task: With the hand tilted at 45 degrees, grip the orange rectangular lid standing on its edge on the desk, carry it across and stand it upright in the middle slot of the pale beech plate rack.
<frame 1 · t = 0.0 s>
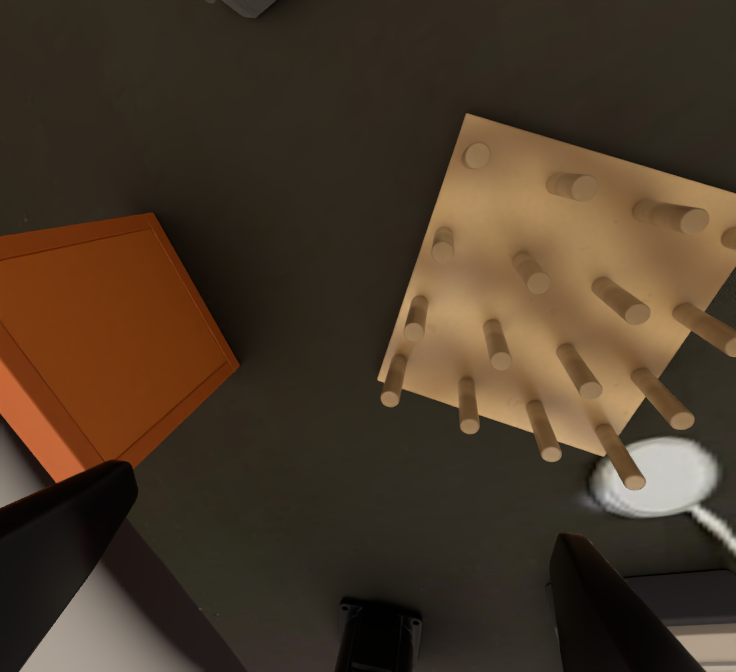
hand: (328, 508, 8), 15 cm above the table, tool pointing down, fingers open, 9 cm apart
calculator: (647, 646, 28), on the table
lid: (188, 298, 24), on the table
rack: (541, 303, 20), on the table
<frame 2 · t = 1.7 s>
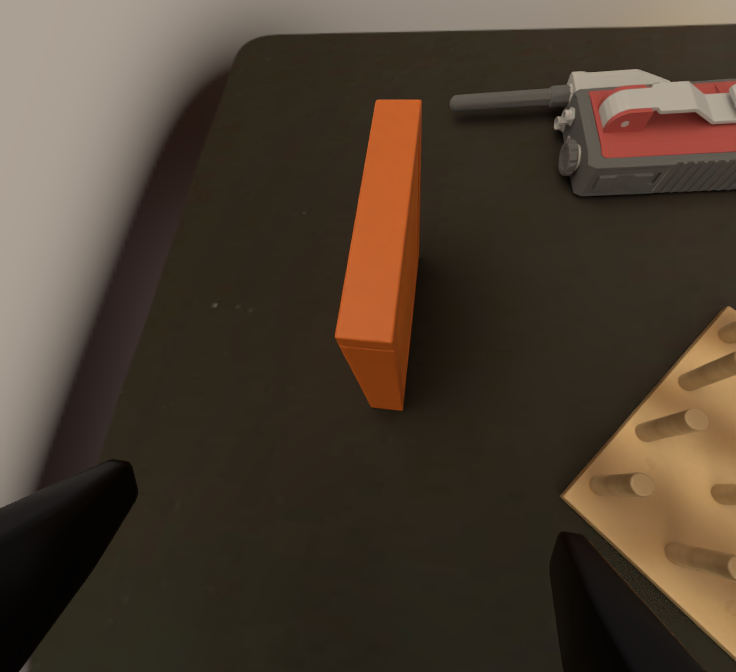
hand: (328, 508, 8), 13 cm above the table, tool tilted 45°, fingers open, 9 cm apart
walkie-talkie: (599, 149, 27), on the table
lid: (396, 326, 24), on the table
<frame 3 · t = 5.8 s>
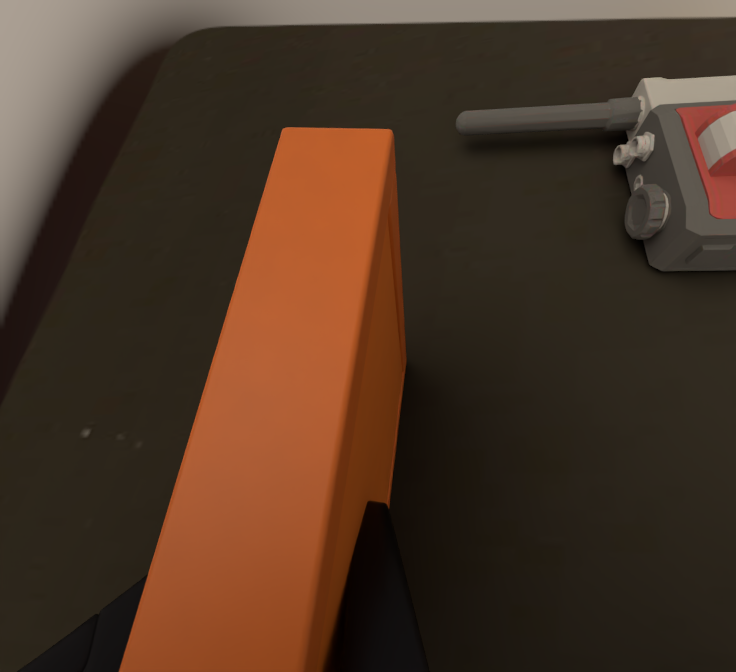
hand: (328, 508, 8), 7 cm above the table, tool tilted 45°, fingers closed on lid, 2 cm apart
walkie-talkie: (682, 194, 18), on the table
lid: (366, 487, 15), on the table, touching gripper
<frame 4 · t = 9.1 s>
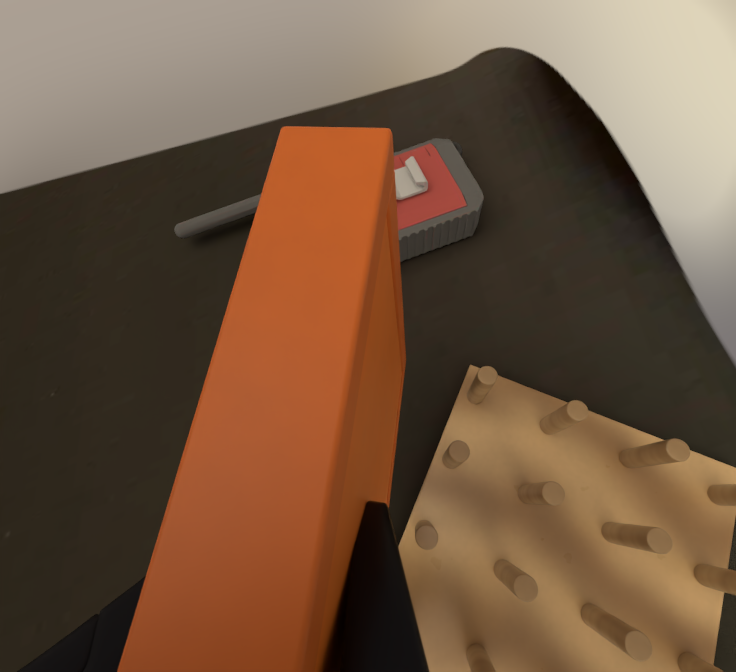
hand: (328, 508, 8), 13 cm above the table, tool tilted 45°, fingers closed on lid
walkie-talkie: (334, 233, 28), on the table
lid: (366, 486, 15), point 7 cm above the table, touching gripper
rack: (553, 549, 19), on the table
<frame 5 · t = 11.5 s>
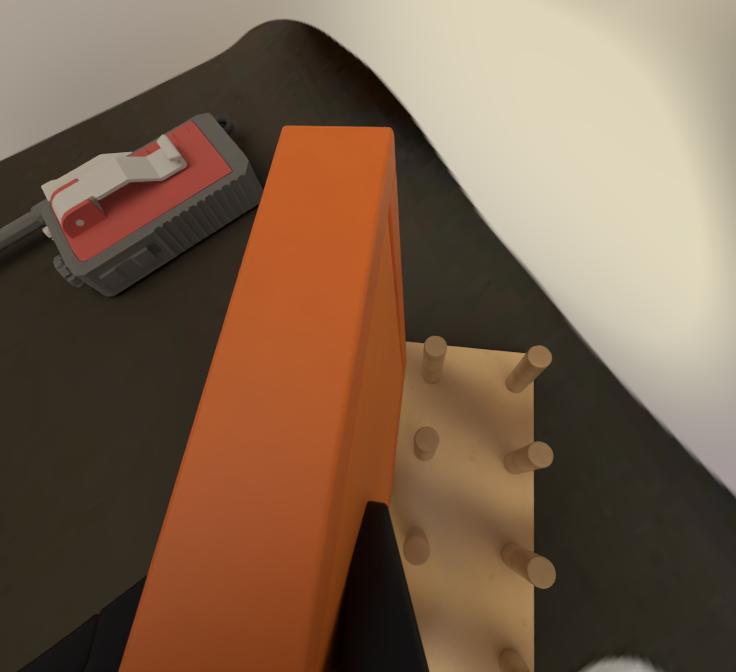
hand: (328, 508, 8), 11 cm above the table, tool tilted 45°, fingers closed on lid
walkie-talkie: (123, 236, 26), on the table
lid: (366, 486, 15), point 4 cm above the table, touching gripper
rack: (377, 486, 18), on the table
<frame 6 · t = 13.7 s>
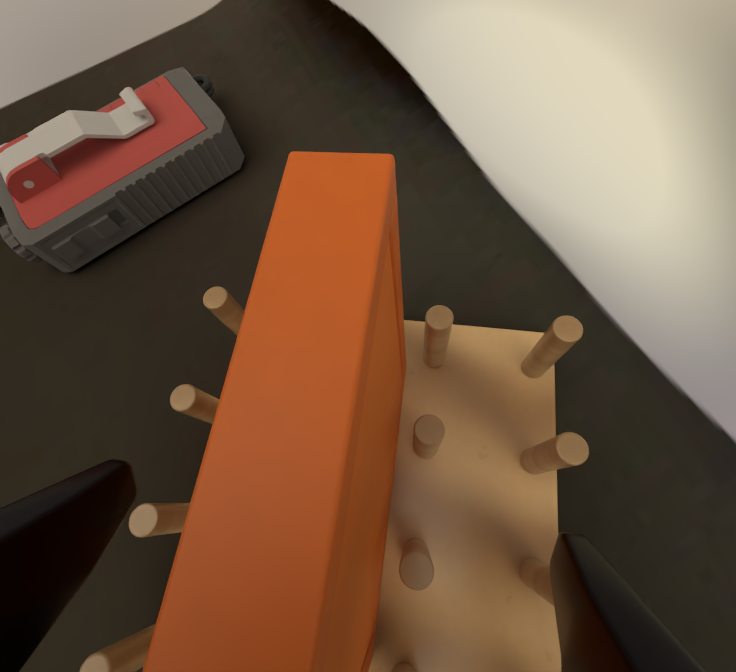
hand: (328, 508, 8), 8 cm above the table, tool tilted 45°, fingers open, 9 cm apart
walkie-talkie: (87, 207, 23), on the table
lid: (367, 489, 15), point 1 cm above the table, touching rack
rack: (369, 489, 15), on the table
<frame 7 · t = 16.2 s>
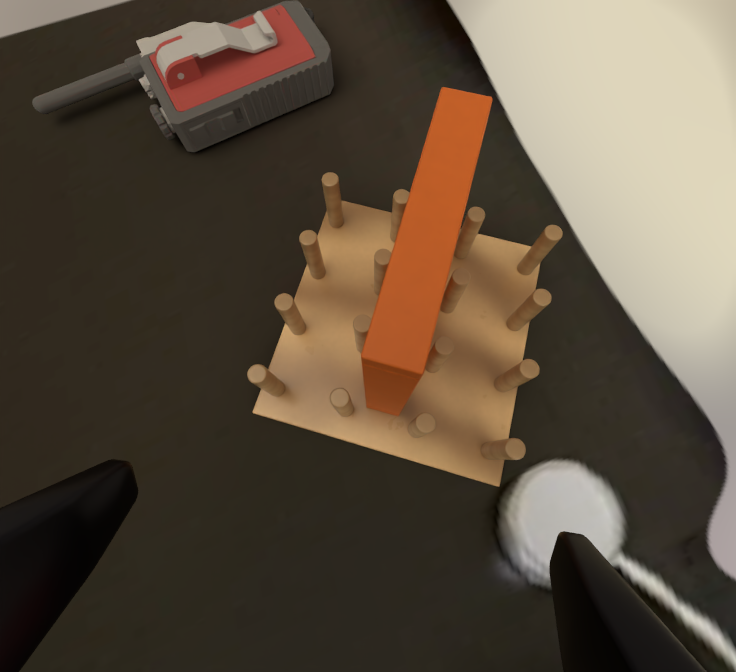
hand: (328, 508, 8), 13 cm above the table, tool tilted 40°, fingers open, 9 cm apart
walkie-talkie: (202, 103, 29), on the table
lid: (405, 326, 23), point 1 cm above the table, touching rack
rack: (405, 329, 23), on the table
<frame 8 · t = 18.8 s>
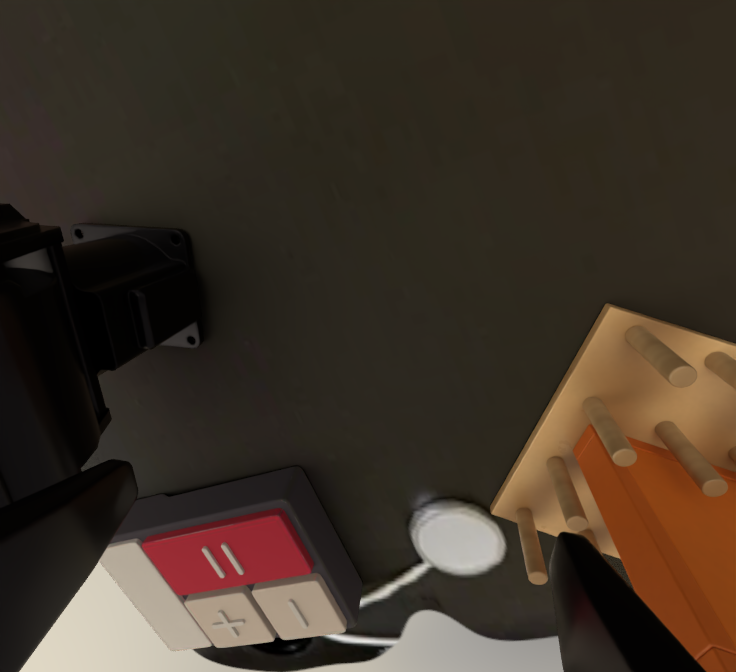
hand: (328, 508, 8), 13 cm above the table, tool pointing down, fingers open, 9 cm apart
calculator: (244, 539, 29), on the table
lid: (677, 469, 20), point 1 cm above the table, touching rack
rack: (671, 462, 21), on the table
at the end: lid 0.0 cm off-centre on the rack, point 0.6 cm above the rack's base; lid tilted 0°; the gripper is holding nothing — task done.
